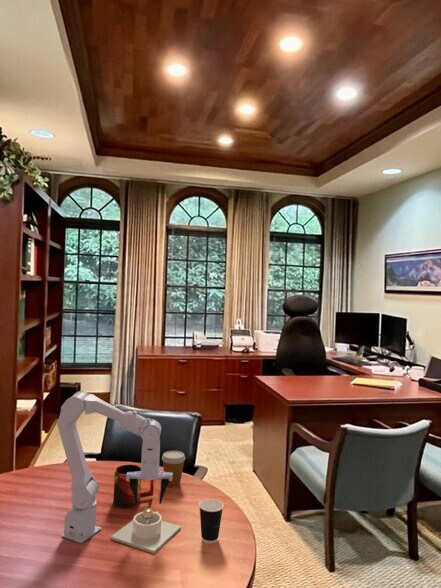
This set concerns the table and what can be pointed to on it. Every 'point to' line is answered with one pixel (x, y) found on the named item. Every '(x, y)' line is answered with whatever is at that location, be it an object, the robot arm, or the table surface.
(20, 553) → the table surface
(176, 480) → the disposable coffee cup
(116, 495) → the mug
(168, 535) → the white square-based fixture
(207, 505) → the dixie cup
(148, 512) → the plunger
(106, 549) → the table surface
